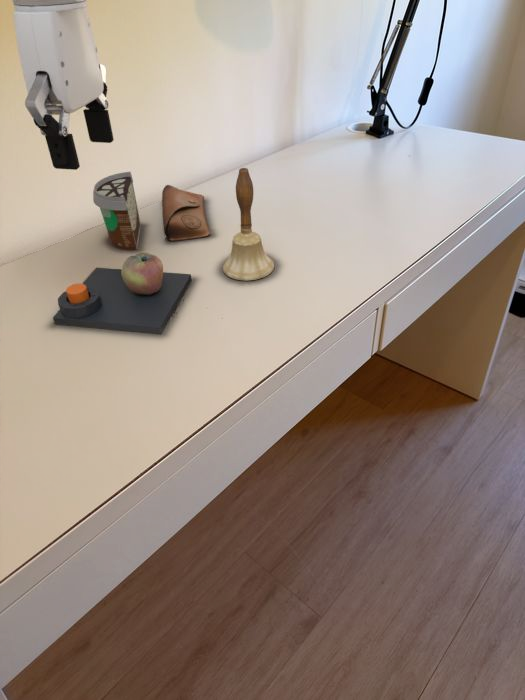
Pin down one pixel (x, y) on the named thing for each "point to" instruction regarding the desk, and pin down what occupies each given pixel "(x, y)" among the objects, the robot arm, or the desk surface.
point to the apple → (143, 273)
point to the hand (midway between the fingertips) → (85, 154)
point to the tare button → (77, 293)
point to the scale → (123, 303)
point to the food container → (119, 209)
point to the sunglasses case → (183, 214)
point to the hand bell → (247, 239)
